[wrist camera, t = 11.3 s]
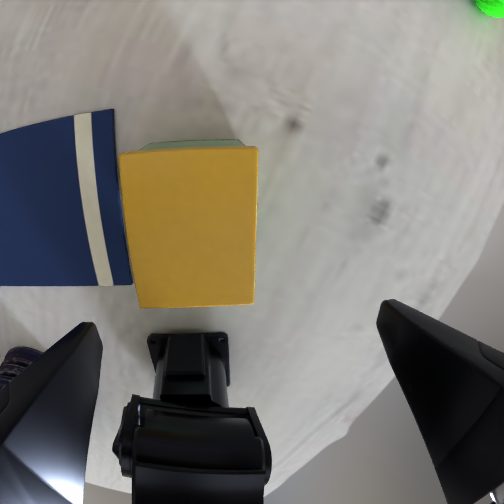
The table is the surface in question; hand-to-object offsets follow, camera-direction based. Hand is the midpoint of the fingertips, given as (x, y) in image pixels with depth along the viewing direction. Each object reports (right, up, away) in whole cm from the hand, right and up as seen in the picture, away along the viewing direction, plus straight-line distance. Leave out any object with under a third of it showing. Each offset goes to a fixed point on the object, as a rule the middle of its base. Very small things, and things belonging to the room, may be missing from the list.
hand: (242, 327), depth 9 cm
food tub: (-3, +6, +10) cm, 12 cm away
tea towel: (-19, +5, +8) cm, 21 cm away
